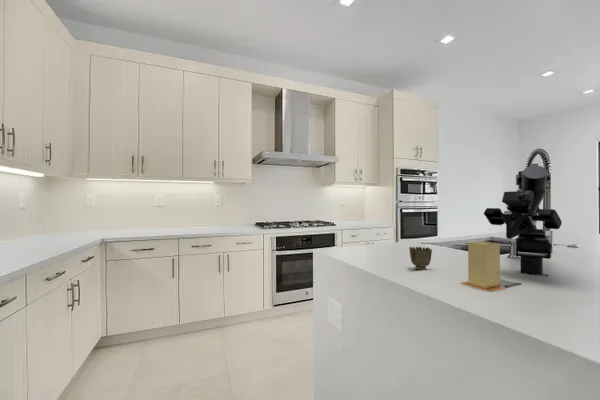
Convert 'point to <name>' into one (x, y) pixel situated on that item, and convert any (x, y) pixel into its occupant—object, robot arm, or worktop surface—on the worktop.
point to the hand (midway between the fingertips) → (508, 237)
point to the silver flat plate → (503, 285)
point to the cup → (420, 257)
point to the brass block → (484, 264)
